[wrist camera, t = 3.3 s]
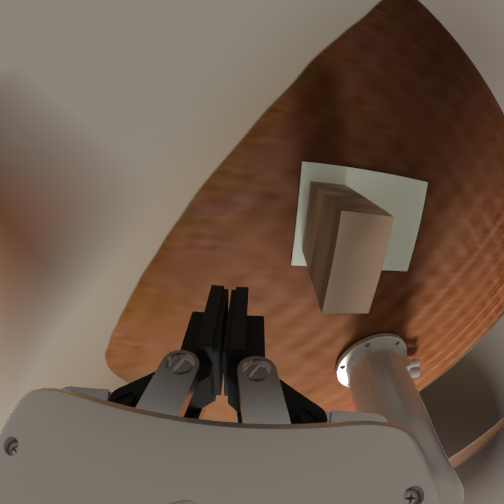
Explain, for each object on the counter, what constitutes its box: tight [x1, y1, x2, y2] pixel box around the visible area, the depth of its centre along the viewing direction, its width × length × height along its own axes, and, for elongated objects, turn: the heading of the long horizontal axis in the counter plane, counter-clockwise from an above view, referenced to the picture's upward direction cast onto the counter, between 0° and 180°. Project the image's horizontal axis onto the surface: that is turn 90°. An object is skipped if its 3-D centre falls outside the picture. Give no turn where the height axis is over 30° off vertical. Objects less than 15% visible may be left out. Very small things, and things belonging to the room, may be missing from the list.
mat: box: [291, 161, 428, 271], centre depth 29 cm, size 16×12×1 cm
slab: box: [302, 181, 394, 313], centre depth 24 cm, size 4×8×12 cm, turn 177°
